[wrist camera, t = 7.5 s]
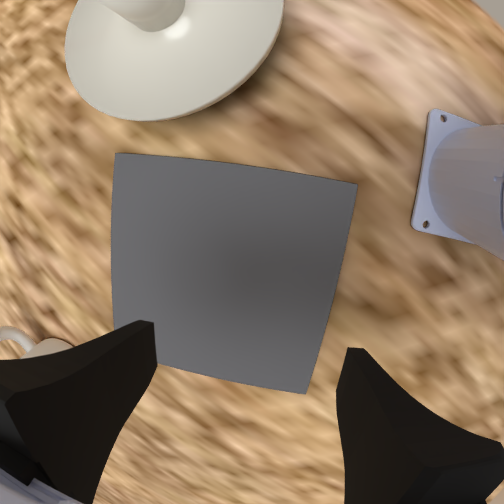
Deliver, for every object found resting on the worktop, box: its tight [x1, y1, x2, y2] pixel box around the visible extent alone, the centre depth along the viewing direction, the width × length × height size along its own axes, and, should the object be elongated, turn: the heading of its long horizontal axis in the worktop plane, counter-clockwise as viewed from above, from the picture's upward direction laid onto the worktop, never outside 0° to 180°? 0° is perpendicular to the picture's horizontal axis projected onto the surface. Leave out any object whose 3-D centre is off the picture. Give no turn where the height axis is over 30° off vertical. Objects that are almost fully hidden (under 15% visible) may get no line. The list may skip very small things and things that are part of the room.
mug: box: [0, 326, 73, 359], centre depth 22 cm, size 12×8×10 cm
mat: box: [111, 153, 358, 394], centre depth 22 cm, size 16×16×1 cm
